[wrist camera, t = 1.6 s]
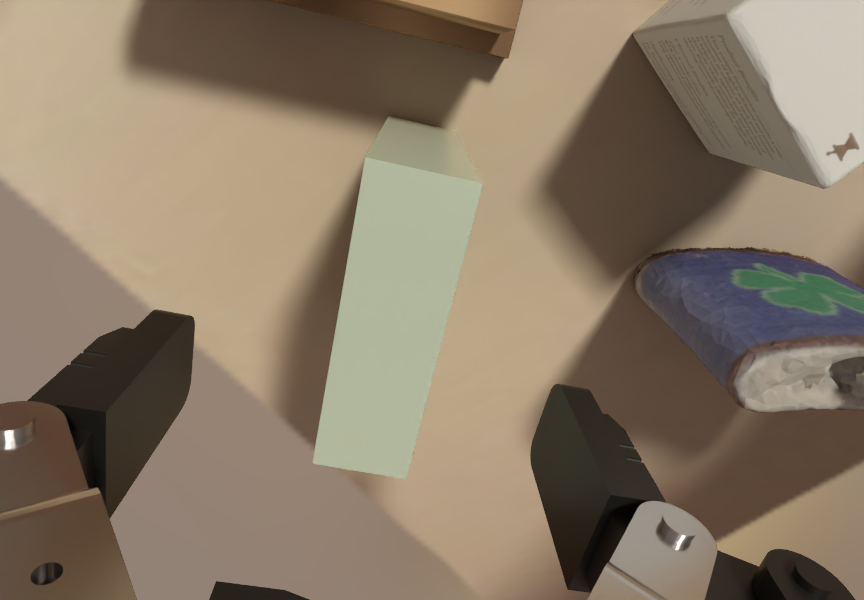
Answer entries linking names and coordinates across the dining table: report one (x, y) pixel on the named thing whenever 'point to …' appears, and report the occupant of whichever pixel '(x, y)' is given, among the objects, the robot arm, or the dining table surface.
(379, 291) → the sage green tall prism
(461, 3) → the rack
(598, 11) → the dining table surface
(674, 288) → the flask
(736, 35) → the product box
